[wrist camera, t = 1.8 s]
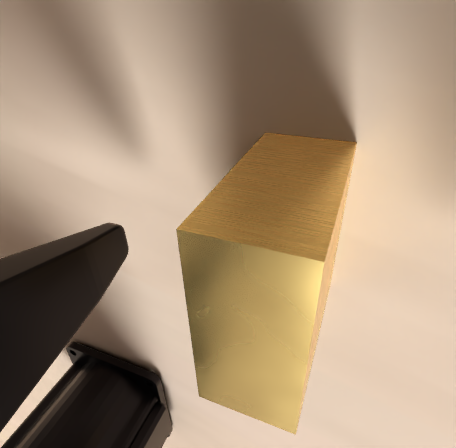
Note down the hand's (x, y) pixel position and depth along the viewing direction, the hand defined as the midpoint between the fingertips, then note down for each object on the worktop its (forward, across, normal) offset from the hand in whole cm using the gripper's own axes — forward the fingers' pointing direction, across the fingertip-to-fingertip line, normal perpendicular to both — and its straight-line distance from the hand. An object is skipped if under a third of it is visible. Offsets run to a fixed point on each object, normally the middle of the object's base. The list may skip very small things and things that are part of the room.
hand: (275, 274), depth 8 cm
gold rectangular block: (+3, 0, 0) cm, 3 cm away
